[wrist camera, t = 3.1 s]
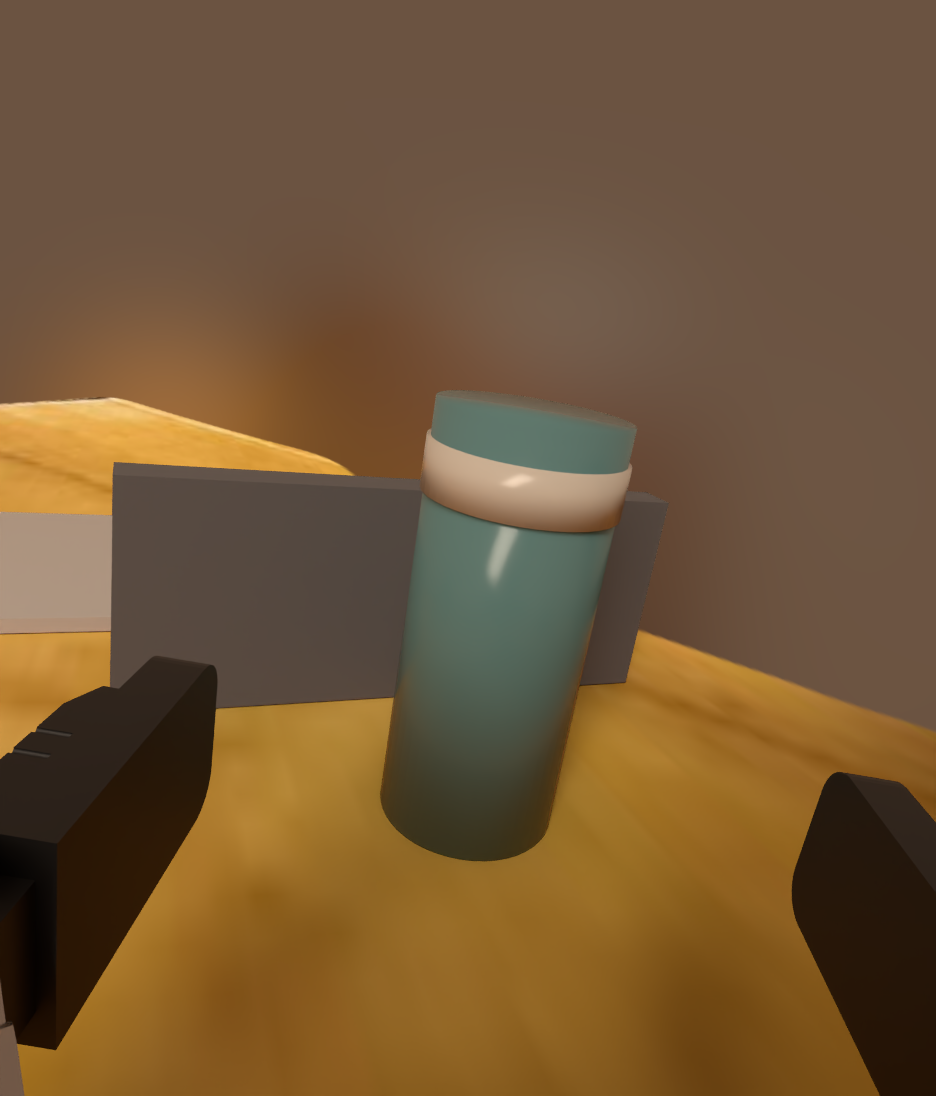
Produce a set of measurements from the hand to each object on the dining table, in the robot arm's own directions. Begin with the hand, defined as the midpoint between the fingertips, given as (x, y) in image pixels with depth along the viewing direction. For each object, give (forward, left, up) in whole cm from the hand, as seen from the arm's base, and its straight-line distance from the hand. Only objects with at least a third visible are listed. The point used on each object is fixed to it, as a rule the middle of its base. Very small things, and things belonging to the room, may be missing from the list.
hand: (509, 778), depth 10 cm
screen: (-11, -15, -9) cm, 20 cm away
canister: (-8, -8, -9) cm, 14 cm away
